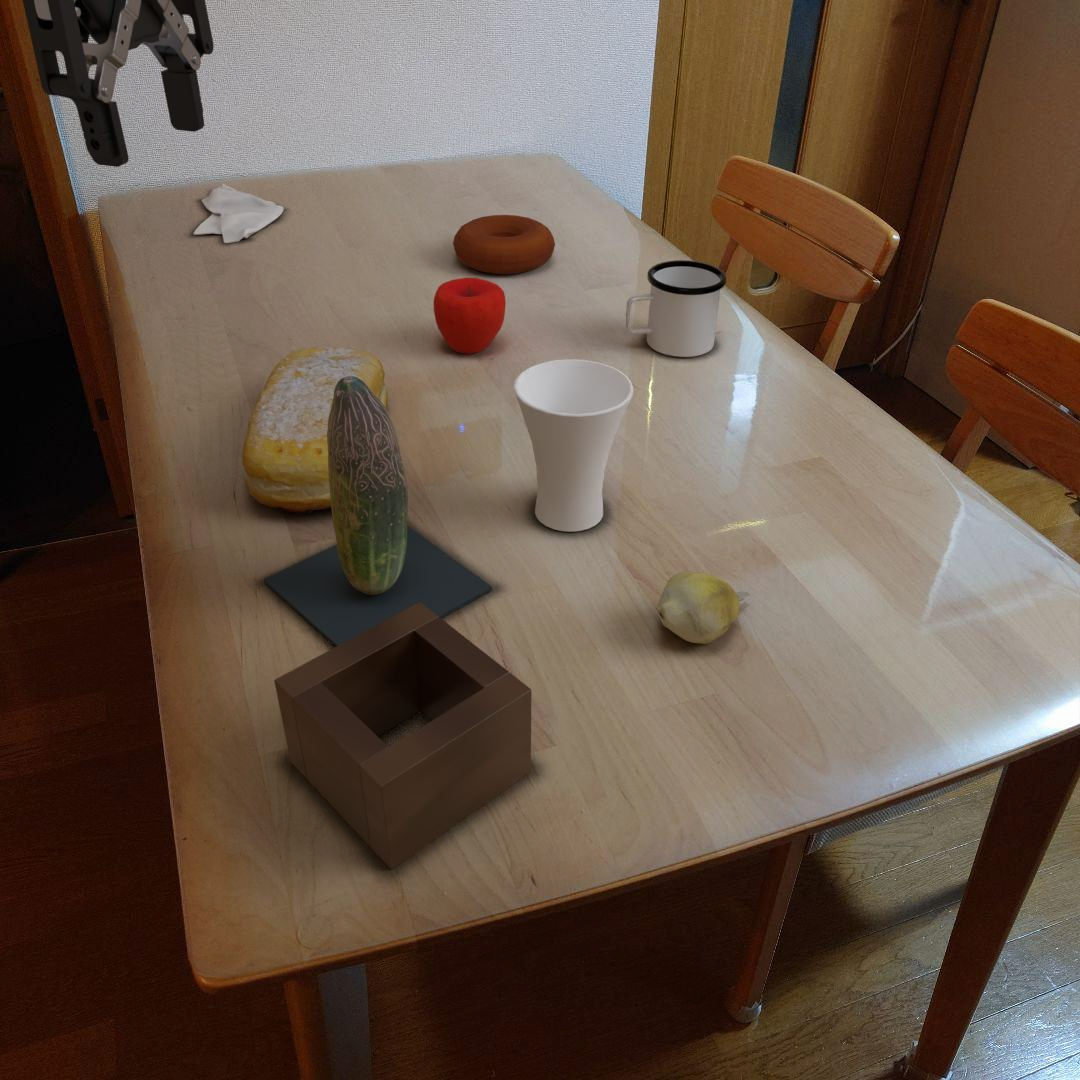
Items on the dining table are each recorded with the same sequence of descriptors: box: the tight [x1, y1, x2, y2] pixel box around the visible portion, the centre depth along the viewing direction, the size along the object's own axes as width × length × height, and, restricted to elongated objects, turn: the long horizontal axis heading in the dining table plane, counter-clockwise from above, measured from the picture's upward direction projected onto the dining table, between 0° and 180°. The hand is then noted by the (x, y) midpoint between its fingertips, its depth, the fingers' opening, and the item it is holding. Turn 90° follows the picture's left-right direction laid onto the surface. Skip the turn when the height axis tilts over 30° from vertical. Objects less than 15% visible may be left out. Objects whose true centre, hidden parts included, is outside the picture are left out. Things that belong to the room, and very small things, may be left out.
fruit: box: [655, 571, 751, 645], centre depth 82 cm, size 6×6×10 cm
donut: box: [452, 214, 556, 275], centre depth 147 cm, size 15×15×5 cm
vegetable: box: [327, 376, 409, 595], centre depth 81 cm, size 6×6×20 cm
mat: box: [263, 525, 493, 648], centre depth 87 cm, size 14×14×1 cm
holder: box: [273, 602, 532, 870], centre depth 68 cm, size 12×12×8 cm
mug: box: [625, 259, 727, 358], centre depth 123 cm, size 12×10×9 cm
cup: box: [513, 358, 634, 533], centre depth 92 cm, size 10×10×14 cm
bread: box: [241, 345, 388, 514], centre depth 102 cm, size 13×26×8 cm, turn 4°
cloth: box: [193, 183, 285, 244], centre depth 162 cm, size 26×14×2 cm, turn 10°
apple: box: [433, 277, 507, 355], centre depth 122 cm, size 9×9×8 cm
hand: (151, 146), depth 66 cm, fingers open, 8 cm apart
